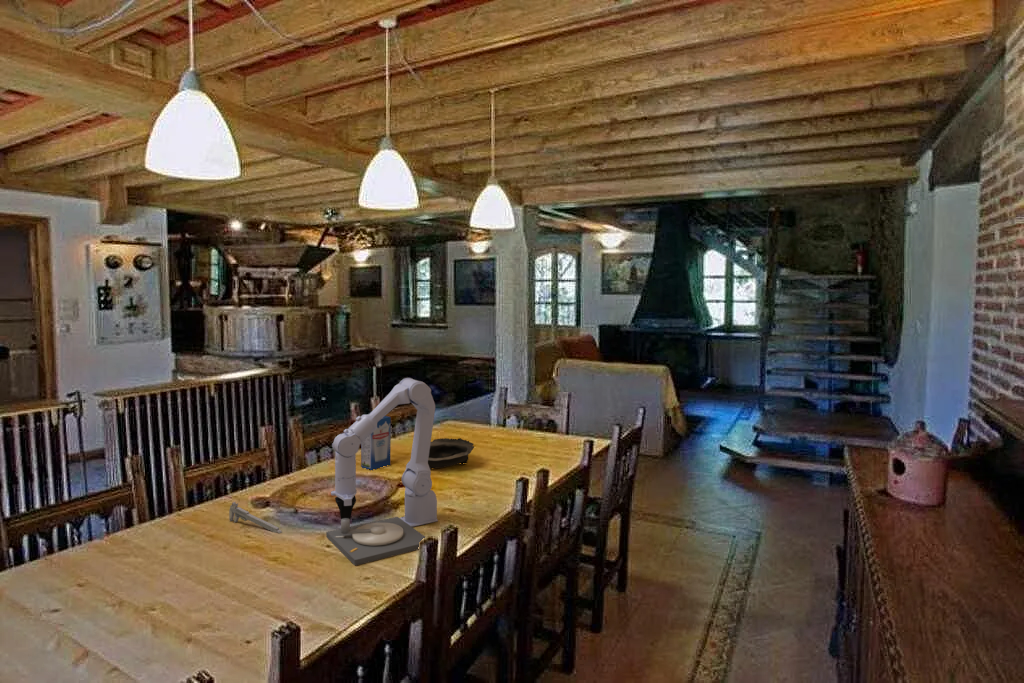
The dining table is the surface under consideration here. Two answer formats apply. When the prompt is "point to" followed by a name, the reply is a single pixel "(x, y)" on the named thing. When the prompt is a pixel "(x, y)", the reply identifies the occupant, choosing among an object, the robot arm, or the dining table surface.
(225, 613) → the dining table surface
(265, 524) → the caliper
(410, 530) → the dial plate
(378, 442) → the milk carton
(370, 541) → the dial
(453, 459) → the stone bowl
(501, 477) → the dining table surface
